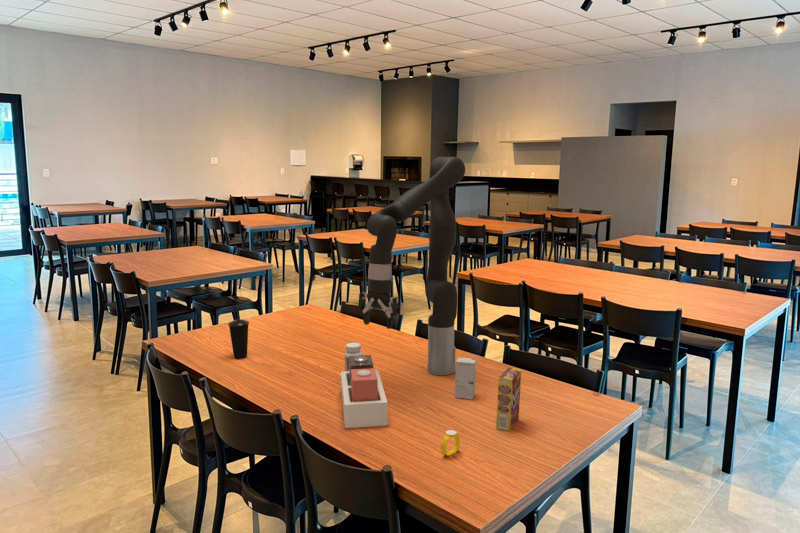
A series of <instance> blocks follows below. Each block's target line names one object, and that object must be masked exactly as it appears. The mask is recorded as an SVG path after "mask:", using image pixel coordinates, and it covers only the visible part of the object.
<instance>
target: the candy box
mask: <svg viewBox="0 0 800 533" xmlns="http://www.w3.org/2000/svg"><path fill="white" fill-rule="evenodd" d="M521 383H522V369H520V368H514V367H507V369H506V370H505V371H504V372H502V373H501V375H500V376H498V386H497V388H498V389H497V401H496V403H497V405H496V421H495V422H496V423H495V424H496V425H495V428H496V429H499V430H503V431H506V432H510V431H511V429H512V428H513V426H515V424H516V423H517V422H518V420H519V419H520V418H519V417H520V403H521V402H520V401H521V400H520V399H521V385H522V384H521Z"/></svg>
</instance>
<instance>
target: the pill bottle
mask: <svg viewBox="0 0 800 533" xmlns="http://www.w3.org/2000/svg"><path fill="white" fill-rule="evenodd" d="M361 346H362V345H361V343H358V342H349V343H347V344H346V345H345V353H344V372H345V371H349V356H359V355H363V352H362V351H361V350H362V347H361Z"/></svg>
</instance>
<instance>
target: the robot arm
mask: <svg viewBox="0 0 800 533" xmlns="http://www.w3.org/2000/svg"><path fill="white" fill-rule="evenodd" d="M465 174H466V165H465V162H464V161H463V160H462V159H461V158H460V157H457V156H437V157H436V158H434V159H433V160H432V162H431V163H430V167H429V178H428V179H427V180H425V181H424V182H422V183H420V184H418V185H415V186H414V187H412V188H410V189H409V190H406V191H405V192H404V193H402V194H401V195H400V196H399V197H398V198H396V200H395V199H394V201H393V202H392V203H390V204H388V205H386V206H385V207H383V208H382V209H379V210H378V211H376V212H374V213H373V214H372V215H371V216H370V217H369V219H368V220H367V223H366V229H367V231H368V233H369V234H370V235H371V236H375V237H376V241H375V244H373V245H371V246H370V248H369V261H368V262H369V264H368V270H367V271H368V272H367V273H368V274H367V292H366V291H363V292H360V293H358V294H359V295H358V304H357V305H358V307H357V310H358V311H360V312H362V313H363V315H362V316H363V320H362V321H363V323H364V324H363V325H365V326H367V325H369V324H370V323H371V322H370V321H371V312H370V311H371V310H372V309H373V308H374V309H380V310H382V311H383V312H384V313H385V315H386V316H387V317H386V329H388V330H390V329H392V328H393V327H394V321H395V320H394V318H395V317H397V316H399V315H400V297H399V296H396V297H393V296H391V292H392V277H393V276H392V275H393V274H392V273H393V271H392V254H393V253H392V252H393V248H394V245H395V240H396V238H397V233H398V225H397V223H400V222H405V221H407V220H408V219H410V217H411V216H413V215H414V214H415V213H416V212H417V211H418V210H420V209H421V208H422V207H423V206H425V205H426V204H427V203H428V202H430V214H429V215H430V220H429V234H428V235H429V237H428V240H429V242H428V265H427V266H428V267H427V275H426V280H425V281H426V282H425V287H424V288H425V289H424V292H425V296H426V299H427V300H428V301H430V302H431V303H432V314H430V315H429V316H428V319H427V324H428V325H427V328H428V329H427V332H428V334H427V372H428V373H430V374H431V375H435V376H449V375H450V374H455V373H456V352H457V351H456V346H455V320H456V319H457V315H458V300H459V299H458V297H459V296H458V295H459V294H458V290H457V287H456V285H455V284H454V283H452V282H450V281H448V266H449V261H450V258H451V256H452V254H453V251H454V248H455V245H456V241H457V219H456V217H455V214H454V211H453V209H452V206H451V203H450V198H449V197H450V196H449V195H450V194H449V192H450V190H449V189H450V188H452V187H453V186H455V185H456V184H458V183H459V182H461V181H462V180H463V178H464V176H465ZM366 300H368V302H367V301H366ZM366 302H367V303H366ZM391 304H392V305H391Z"/></svg>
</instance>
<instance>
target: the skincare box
mask: <svg viewBox="0 0 800 533" xmlns="http://www.w3.org/2000/svg"><path fill="white" fill-rule="evenodd" d="M454 375H455V379H454V380H455V381H454V398H458V399H459V398H460V399H466V400H473V399H474V398H475V395H476V381H477V380H476V377H477V358H470V357H458V358H457V359H456V360H455V373H454Z"/></svg>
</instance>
